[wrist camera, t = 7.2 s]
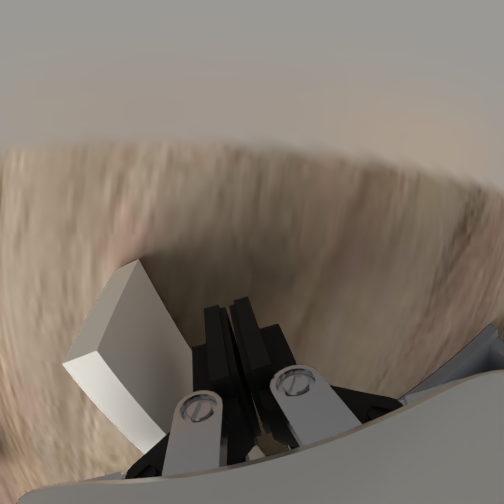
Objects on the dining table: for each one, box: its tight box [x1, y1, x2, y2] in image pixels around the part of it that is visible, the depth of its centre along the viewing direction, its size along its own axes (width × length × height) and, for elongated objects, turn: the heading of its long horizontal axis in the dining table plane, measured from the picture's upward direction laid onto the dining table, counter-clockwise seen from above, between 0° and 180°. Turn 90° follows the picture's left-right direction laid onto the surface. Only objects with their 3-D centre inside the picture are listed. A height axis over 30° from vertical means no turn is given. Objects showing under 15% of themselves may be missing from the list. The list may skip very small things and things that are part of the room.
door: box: [62, 259, 266, 461], centre depth 13 cm, size 18×2×7 cm, turn 22°
